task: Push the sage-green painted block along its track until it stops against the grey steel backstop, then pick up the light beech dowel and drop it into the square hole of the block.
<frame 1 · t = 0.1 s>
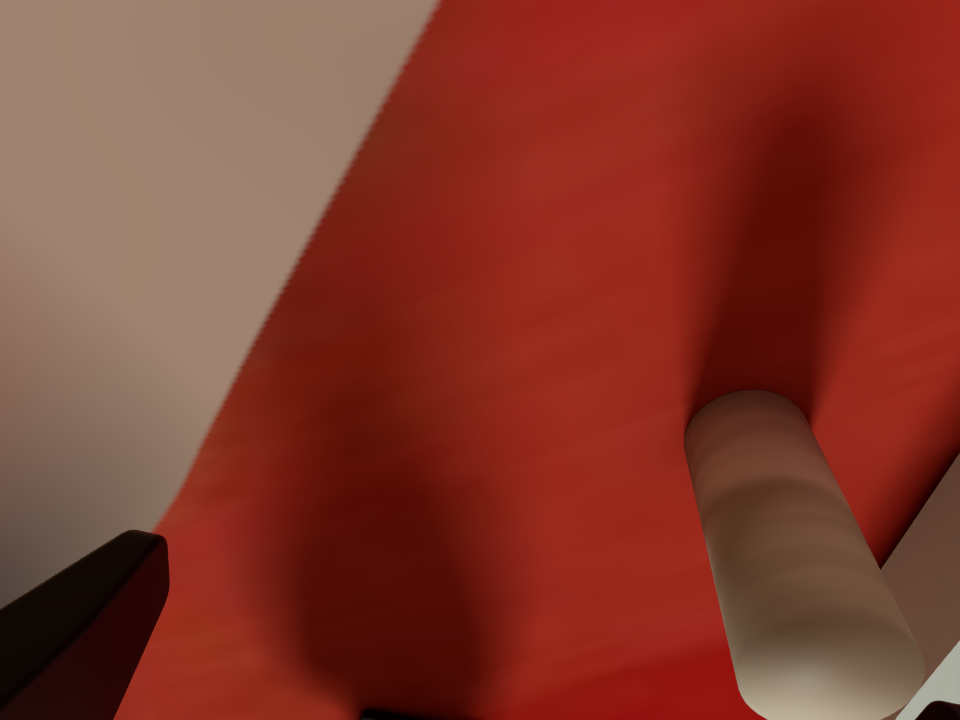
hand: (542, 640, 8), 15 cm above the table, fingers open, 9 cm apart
dowel: (745, 440, 24), on the table
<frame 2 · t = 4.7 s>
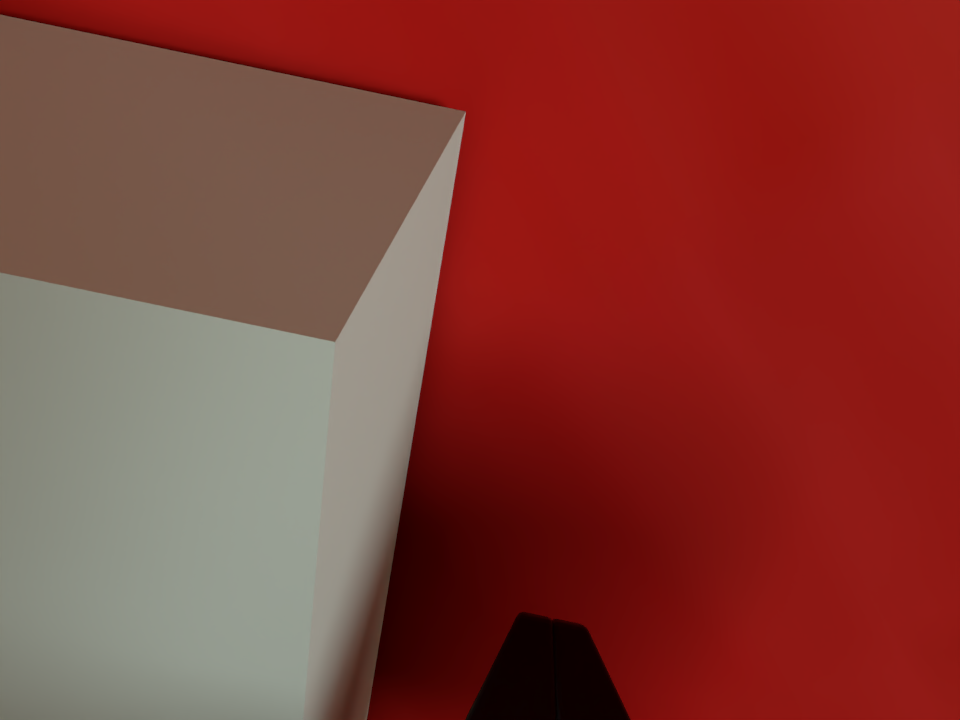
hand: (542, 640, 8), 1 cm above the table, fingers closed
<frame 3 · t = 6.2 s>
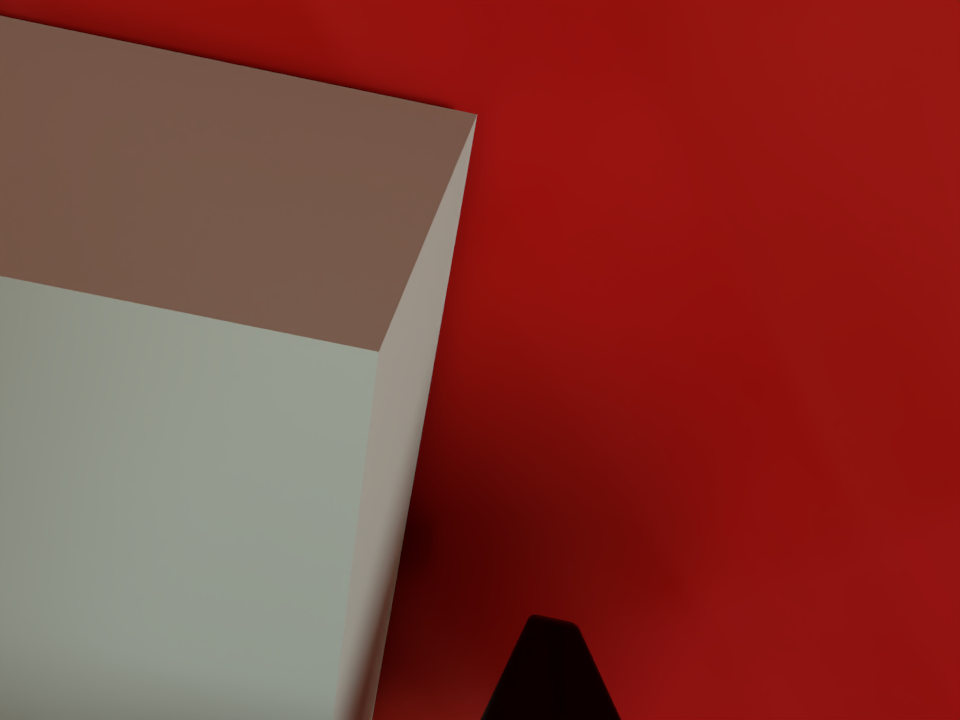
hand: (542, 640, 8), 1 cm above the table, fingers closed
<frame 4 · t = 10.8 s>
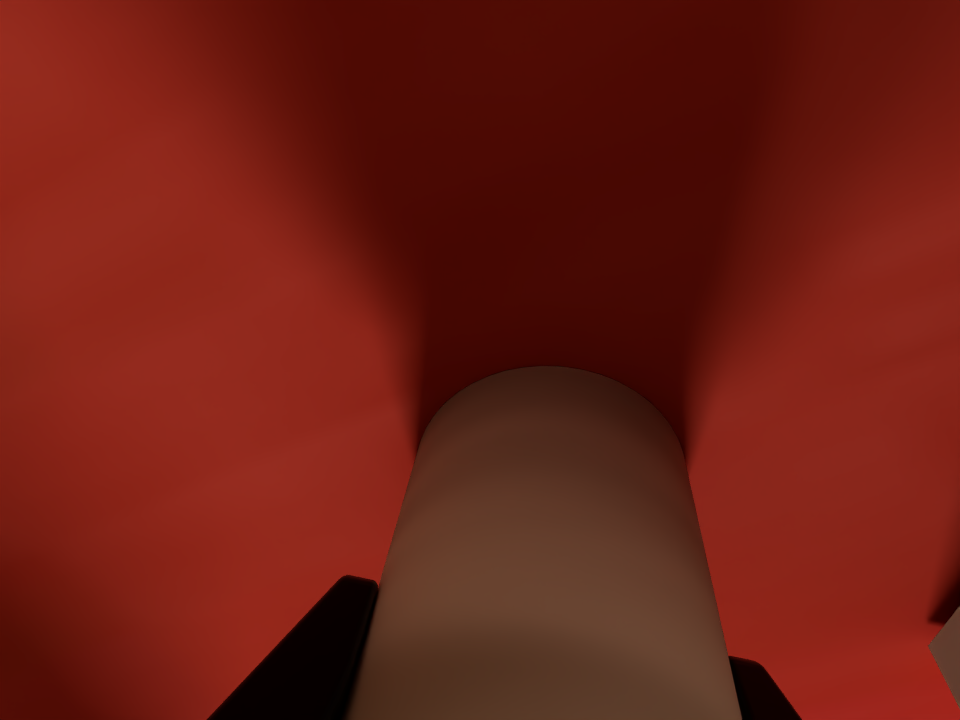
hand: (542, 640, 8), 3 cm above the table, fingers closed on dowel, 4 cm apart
dowel: (548, 480, 11), on the table, touching gripper
when the fingers open (6 cm above the table, at t = 15.1 s): dowel drops 3 cm, on the table.
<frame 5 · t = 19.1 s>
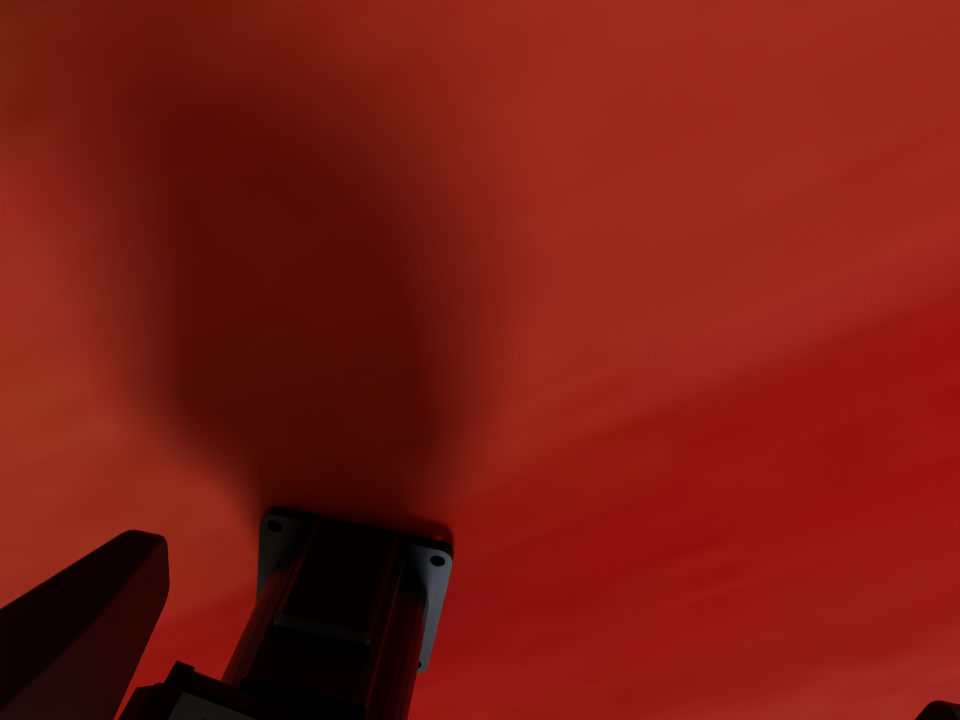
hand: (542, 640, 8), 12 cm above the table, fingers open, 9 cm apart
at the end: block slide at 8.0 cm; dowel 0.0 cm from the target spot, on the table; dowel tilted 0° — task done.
